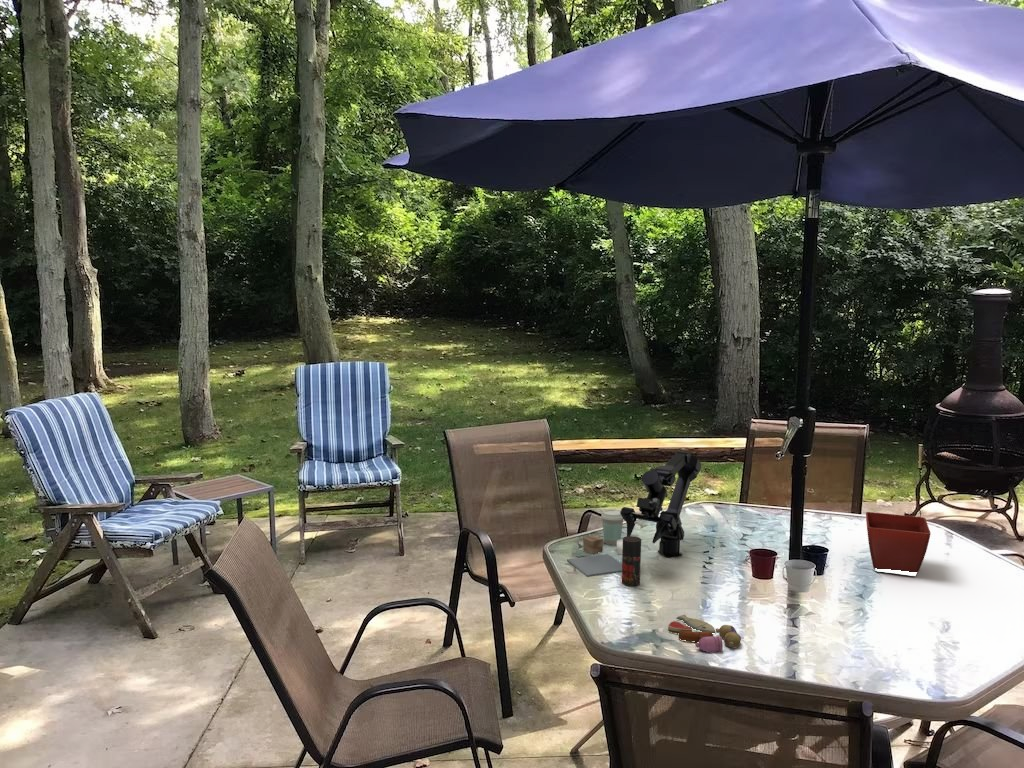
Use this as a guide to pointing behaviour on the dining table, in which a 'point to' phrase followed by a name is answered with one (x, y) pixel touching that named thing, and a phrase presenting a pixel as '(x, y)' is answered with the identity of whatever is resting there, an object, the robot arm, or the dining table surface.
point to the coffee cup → (612, 526)
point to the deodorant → (631, 561)
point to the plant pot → (897, 541)
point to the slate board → (596, 565)
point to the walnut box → (592, 544)
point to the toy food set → (705, 634)
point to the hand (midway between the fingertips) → (640, 540)
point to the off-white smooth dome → (619, 546)
